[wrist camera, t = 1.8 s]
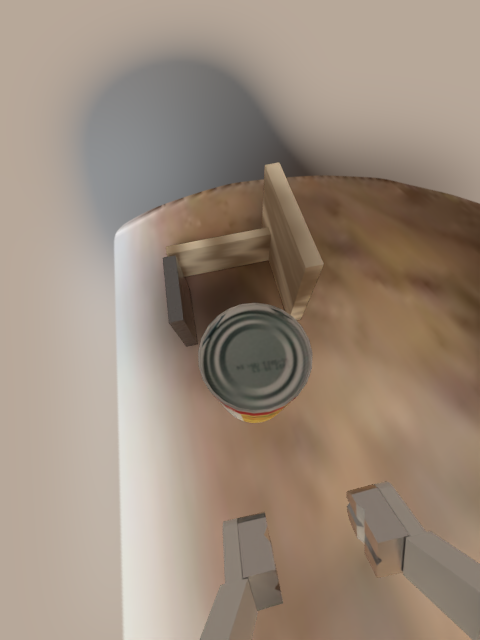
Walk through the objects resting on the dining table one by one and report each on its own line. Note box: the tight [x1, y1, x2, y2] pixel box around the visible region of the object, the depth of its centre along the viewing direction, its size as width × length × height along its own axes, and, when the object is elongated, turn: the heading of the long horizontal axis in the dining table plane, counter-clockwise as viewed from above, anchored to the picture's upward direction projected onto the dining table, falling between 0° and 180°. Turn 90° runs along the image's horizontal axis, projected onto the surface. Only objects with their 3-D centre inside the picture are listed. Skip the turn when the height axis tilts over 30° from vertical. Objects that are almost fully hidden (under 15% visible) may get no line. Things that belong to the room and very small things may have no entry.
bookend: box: [163, 255, 198, 347], centre depth 29 cm, size 1×8×7 cm, turn 12°
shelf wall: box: [166, 163, 324, 320], centre depth 29 cm, size 14×14×11 cm
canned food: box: [198, 303, 312, 423], centre depth 23 cm, size 8×8×12 cm
